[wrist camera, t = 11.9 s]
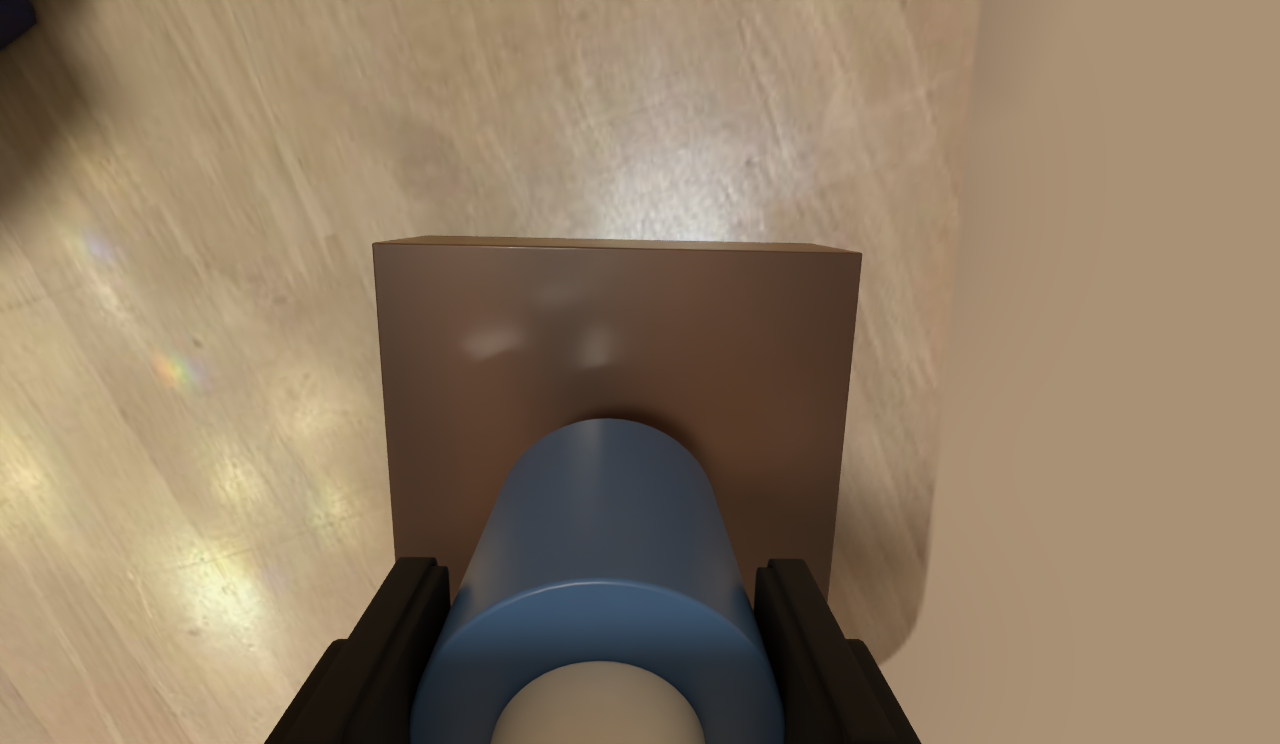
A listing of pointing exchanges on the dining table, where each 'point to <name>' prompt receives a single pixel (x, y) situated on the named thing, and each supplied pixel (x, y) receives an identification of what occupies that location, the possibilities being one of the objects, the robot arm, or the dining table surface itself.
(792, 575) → the robot arm
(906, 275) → the dining table surface
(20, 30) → the decorative cube
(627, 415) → the block
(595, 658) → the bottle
